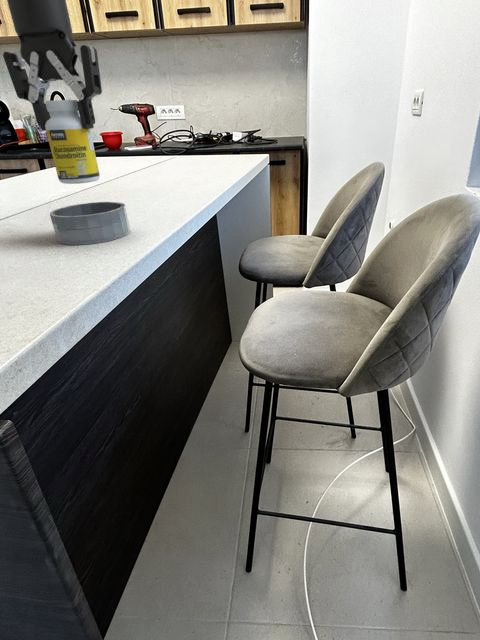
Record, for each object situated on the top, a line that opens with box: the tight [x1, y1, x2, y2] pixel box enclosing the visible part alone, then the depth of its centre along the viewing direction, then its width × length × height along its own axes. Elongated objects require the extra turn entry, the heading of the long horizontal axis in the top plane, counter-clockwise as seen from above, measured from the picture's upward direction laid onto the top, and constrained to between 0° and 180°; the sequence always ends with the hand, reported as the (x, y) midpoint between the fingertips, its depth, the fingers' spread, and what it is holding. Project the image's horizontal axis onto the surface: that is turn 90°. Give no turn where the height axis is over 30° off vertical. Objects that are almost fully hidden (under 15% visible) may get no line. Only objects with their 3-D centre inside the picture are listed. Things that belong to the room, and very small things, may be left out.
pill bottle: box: [44, 99, 101, 185], centre depth 68 cm, size 6×6×12 cm
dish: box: [49, 201, 131, 246], centre depth 74 cm, size 12×12×4 cm
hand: (68, 129), depth 67 cm, fingers closed on pill bottle, 6 cm apart
